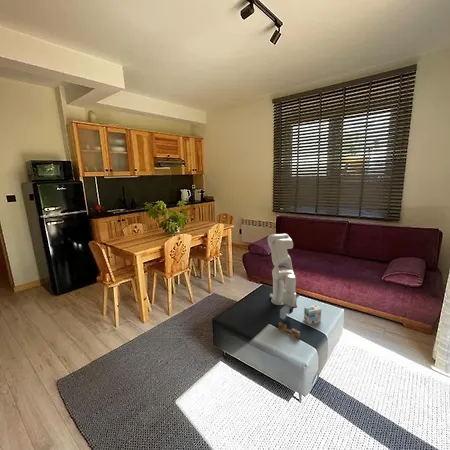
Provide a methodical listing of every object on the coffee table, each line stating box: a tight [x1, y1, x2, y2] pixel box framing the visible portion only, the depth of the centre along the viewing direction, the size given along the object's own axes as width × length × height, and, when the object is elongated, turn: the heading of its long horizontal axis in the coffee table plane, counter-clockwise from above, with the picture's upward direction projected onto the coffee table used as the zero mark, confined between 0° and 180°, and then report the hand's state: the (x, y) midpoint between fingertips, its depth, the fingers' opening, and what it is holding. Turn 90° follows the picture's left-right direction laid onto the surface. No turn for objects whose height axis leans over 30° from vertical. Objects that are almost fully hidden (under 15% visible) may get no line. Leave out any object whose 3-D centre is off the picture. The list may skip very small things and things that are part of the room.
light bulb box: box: [303, 304, 322, 325], centre depth 179 cm, size 11×7×11 cm, turn 105°
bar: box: [279, 305, 290, 320], centre depth 179 cm, size 3×12×7 cm, turn 134°
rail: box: [277, 321, 301, 341], centre depth 167 cm, size 16×2×5 cm, turn 44°
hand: (288, 311), depth 182 cm, fingers closed on bar, 3 cm apart
